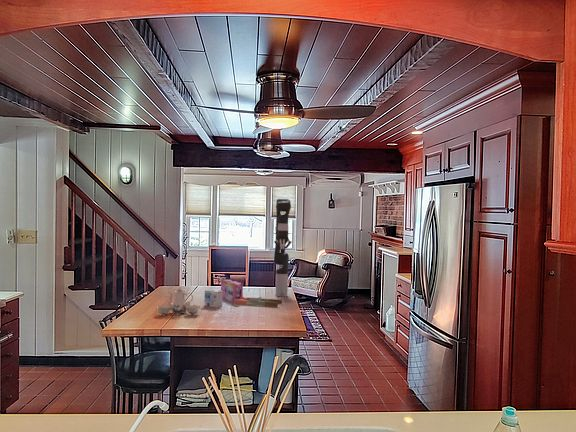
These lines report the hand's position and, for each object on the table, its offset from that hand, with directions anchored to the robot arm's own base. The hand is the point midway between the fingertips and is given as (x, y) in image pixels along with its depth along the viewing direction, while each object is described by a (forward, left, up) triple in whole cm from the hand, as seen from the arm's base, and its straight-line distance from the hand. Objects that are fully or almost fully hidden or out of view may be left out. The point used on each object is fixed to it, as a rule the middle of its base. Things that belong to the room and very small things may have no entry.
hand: (282, 254), depth 325 cm
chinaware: (+53, -52, -35) cm, 83 cm away
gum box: (-2, -39, -35) cm, 53 cm away
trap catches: (+13, -24, -34) cm, 44 cm away
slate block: (+14, -15, -34) cm, 40 cm away
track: (+13, -13, -35) cm, 40 cm away
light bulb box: (+24, -42, -35) cm, 60 cm away
